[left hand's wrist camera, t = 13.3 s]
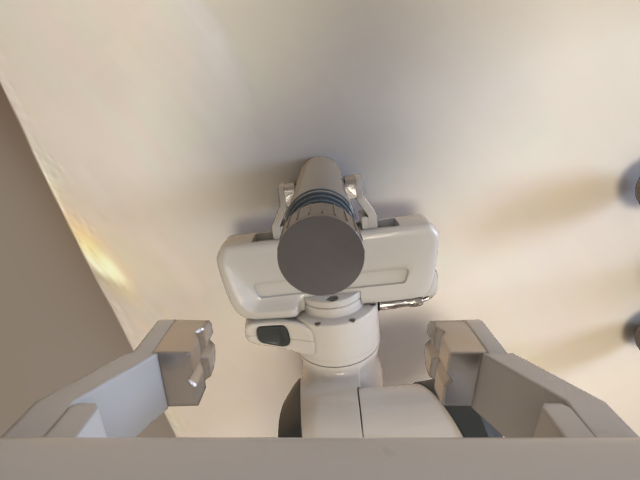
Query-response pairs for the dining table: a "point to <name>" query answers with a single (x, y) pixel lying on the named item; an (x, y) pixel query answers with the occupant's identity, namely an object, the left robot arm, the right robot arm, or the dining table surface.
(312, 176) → the bottle
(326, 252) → the cap
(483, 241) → the dining table surface
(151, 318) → the dining table surface
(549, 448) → the left robot arm
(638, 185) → the molecular model
